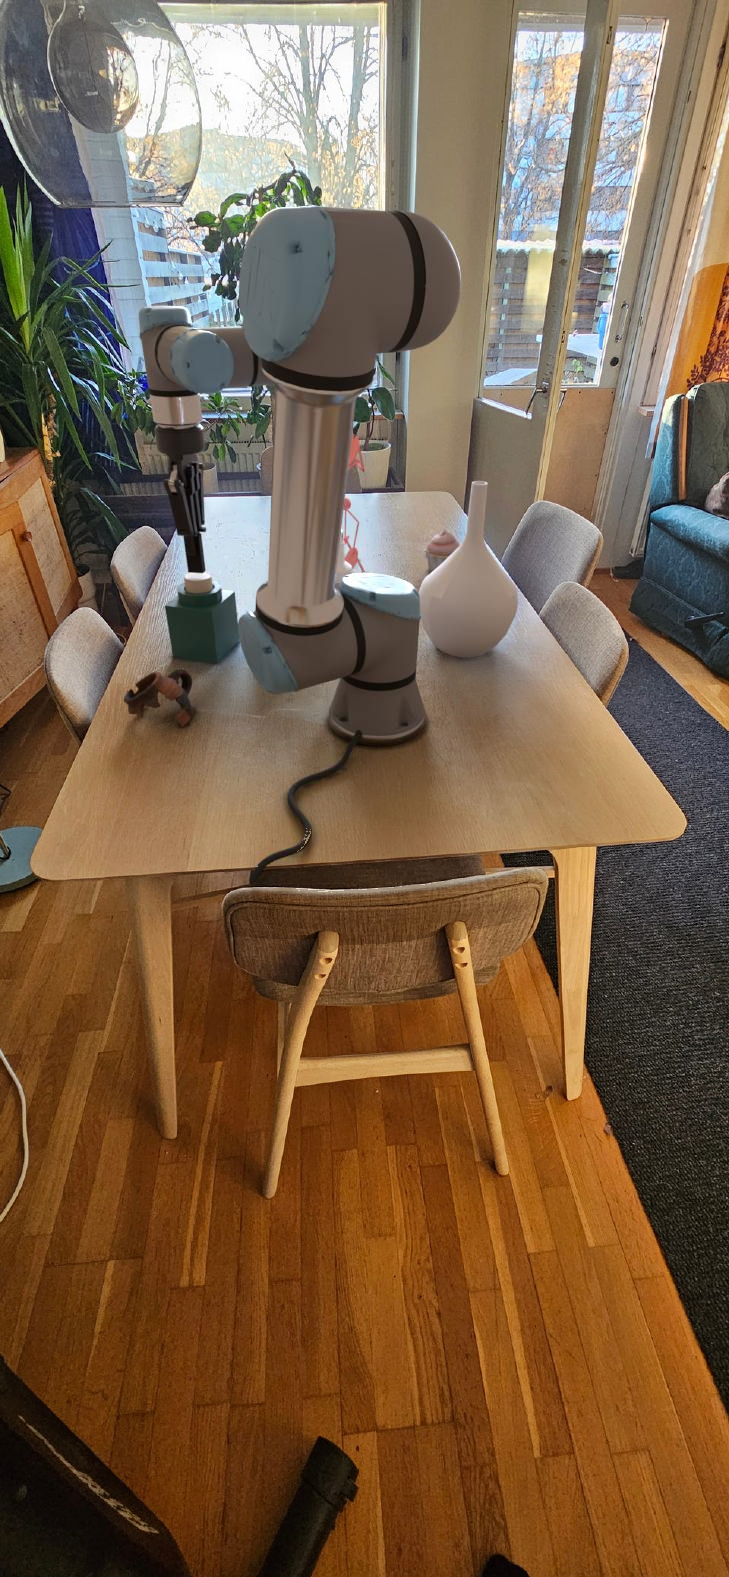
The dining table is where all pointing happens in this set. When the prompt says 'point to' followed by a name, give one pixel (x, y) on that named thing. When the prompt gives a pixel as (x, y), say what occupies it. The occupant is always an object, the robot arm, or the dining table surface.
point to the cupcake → (440, 549)
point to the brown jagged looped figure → (167, 687)
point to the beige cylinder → (198, 582)
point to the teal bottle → (202, 624)
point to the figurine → (353, 552)
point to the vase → (468, 592)
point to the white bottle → (342, 564)
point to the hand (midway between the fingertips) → (196, 571)
